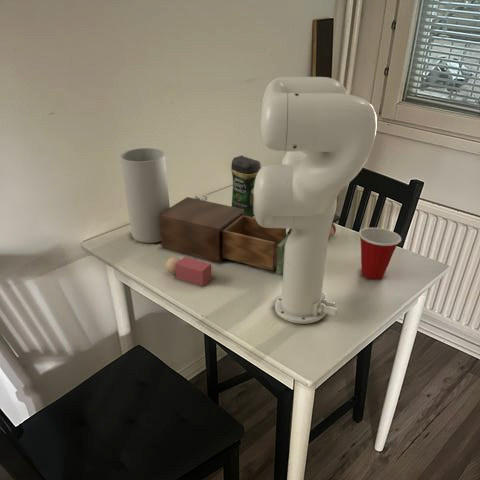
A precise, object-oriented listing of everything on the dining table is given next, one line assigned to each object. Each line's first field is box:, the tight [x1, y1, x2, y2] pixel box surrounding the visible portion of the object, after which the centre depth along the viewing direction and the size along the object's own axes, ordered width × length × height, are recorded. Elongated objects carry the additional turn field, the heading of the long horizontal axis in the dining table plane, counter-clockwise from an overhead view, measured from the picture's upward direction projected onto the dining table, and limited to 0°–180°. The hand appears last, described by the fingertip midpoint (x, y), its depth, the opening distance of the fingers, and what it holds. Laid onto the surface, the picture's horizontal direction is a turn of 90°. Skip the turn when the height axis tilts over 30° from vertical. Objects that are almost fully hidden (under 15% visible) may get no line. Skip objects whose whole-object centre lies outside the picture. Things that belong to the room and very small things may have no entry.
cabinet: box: [159, 196, 244, 264], centre depth 144 cm, size 20×15×11 cm
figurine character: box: [329, 214, 342, 238], centre depth 147 cm, size 7×8×15 cm
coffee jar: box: [230, 155, 262, 217], centre depth 161 cm, size 10×8×19 cm
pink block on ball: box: [165, 256, 213, 287], centre depth 131 cm, size 13×5×5 cm, turn 62°
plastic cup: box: [358, 227, 402, 280], centre depth 130 cm, size 11×11×12 cm
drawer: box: [221, 215, 289, 276], centre depth 136 cm, size 24×14×9 cm, turn 62°
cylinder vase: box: [119, 147, 171, 244], centre depth 146 cm, size 12×12×25 cm
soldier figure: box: [194, 195, 208, 201], centre depth 166 cm, size 8×5×12 cm
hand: (297, 254), depth 133 cm, fingers closed
